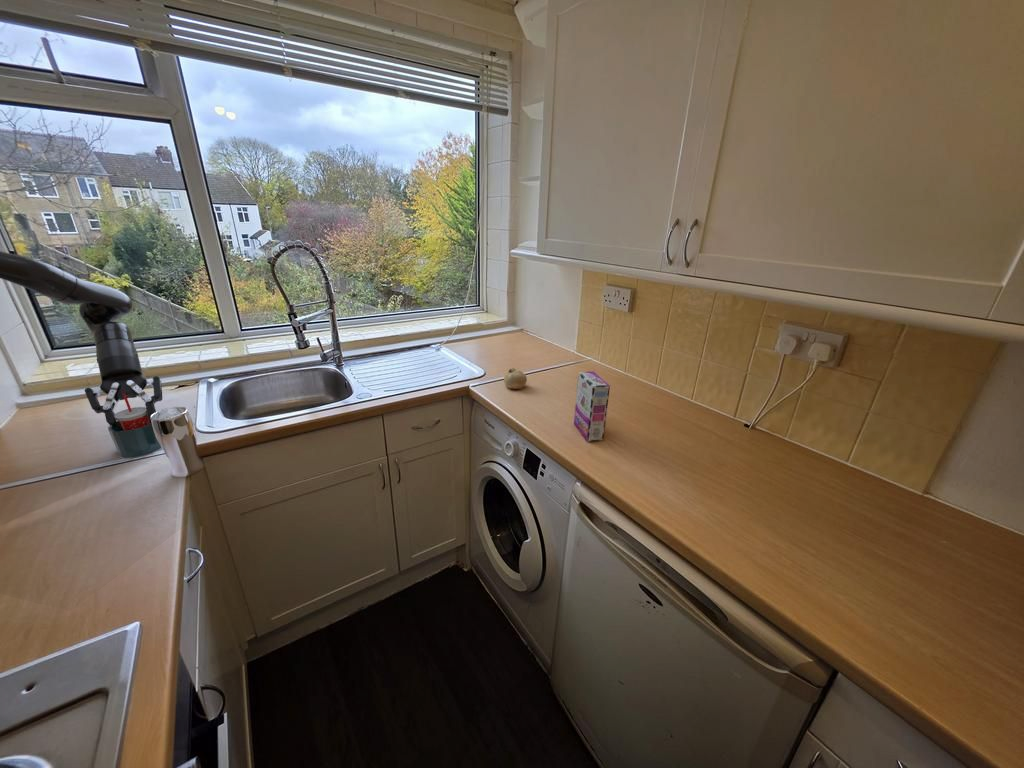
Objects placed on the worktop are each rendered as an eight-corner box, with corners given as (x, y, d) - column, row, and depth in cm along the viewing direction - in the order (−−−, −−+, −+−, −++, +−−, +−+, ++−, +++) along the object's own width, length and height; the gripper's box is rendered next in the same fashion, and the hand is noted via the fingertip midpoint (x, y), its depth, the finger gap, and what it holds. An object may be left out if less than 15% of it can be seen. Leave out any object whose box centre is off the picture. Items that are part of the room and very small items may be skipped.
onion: (518, 381, 149) (519, 363, 146) (530, 388, 142) (531, 370, 140) (499, 385, 145) (500, 367, 142) (511, 393, 139) (511, 374, 136)
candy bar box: (604, 441, 110) (611, 385, 104) (587, 442, 109) (592, 386, 103) (589, 422, 120) (594, 370, 114) (573, 423, 119) (577, 371, 113)
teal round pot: (133, 466, 96) (120, 435, 93) (112, 456, 100) (99, 426, 97) (178, 447, 104) (168, 418, 101) (157, 438, 108) (147, 410, 105)
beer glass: (173, 482, 91) (151, 423, 85) (167, 470, 95) (145, 413, 89) (210, 469, 96) (191, 412, 90) (202, 458, 100) (184, 403, 94)
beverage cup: (165, 439, 104) (147, 389, 98) (140, 452, 98) (120, 400, 93) (145, 436, 105) (127, 387, 99) (120, 449, 99) (99, 397, 94)
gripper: (159, 363, 109) (173, 418, 105) (84, 374, 100) (97, 435, 96) (152, 349, 103) (167, 407, 99) (72, 360, 94) (85, 424, 90)
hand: (132, 421), depth 98 cm, fingers closed on beverage cup, 6 cm apart
